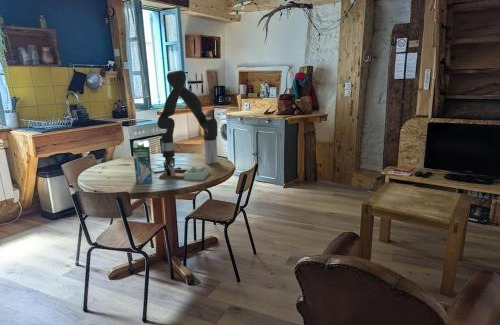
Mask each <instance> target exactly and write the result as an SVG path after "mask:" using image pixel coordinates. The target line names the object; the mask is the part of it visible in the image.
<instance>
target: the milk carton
mask: <svg viewBox="0 0 500 325" xmlns="http://www.w3.org/2000/svg"><path fill="white" fill-rule="evenodd" d="M150 151H151V150H150V141H149V140H138V141H136V140H135V141H132V153H133V163H134V173H135V181H136V186H139V185H140V186H142V185H144V184H152V183H153V174H152V164H151V163H152V161H151V154H150V153H151V152H150Z"/></svg>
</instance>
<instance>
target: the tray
mask: <svg viewBox="0 0 500 325" xmlns="http://www.w3.org/2000/svg"><path fill="white" fill-rule="evenodd" d="M188 170H189V169H179V168H178V169H176V168H175V175H173V176H166V173H165V171H164V172H163V173H161V174H160V175H159V176H158V178H159V180H184V173H185V172H186V171H188Z"/></svg>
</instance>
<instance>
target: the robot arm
mask: <svg viewBox="0 0 500 325" xmlns="http://www.w3.org/2000/svg"><path fill="white" fill-rule="evenodd" d="M186 80H187V74H186V72H185V71H183V70H182V69H178V70H171V71H169V72H168V73H167V74H166V81H167V82H168V84H169V86H170V87H171V88H172V90H171V92H170V93H169V94H168V96H167V98H166V99H165V103H164V106H163V110H162V112H161V113H160V115H159V117H158V119H157V122H156V123H157V127H158V128H159V129H161V130H166V132H163V133H161V151H162V152H161V154H162V157H163V158H165V159H164V162H162V163H163V168H164V172H165V171H167V176H171V173H170V168H175V164H176V163H175V162H176V159H175V151H176V150H175V143H174V131H175V126H176V125H175V124H176V122H175V120H174V119H173V118H172V116H174V115H175V113H176V108H177V104H178V101H179V98H181V100H182V101H183V102H184V104H185V106H187V108H188V110H190V112H191V113H192V114H193V116H194V117H195V119H196V121H197V122H198V124H199V125H200V127H201V129H202V130H204V131H207V133H206V135H204V136H203V146H204V161H205V164H207V165H209V164H210V165H212V164H213V165H214V164H217V163H218V162H219V161H218V144H217V143H218V140H217V139H218V138H217V137H218V122H217V119H216V118H214V117H208V116H207V115H206V114H205V113H204V111H203V105H202V102H201V100H200V99H199V97H198V95H196V93H194V92H193V91H191V90H190V89H188V88H187V87H185V84H186Z"/></svg>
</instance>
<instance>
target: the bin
mask: <svg viewBox="0 0 500 325" xmlns="http://www.w3.org/2000/svg"><path fill="white" fill-rule="evenodd" d="M196 167H197V166H192V167H190V168H188V169H187V170H188V171H186V172H185V173H184V179H183V180H185V181H187V180H188V181H189V180H190V181H203V180H204V179H205V178H206V177H207V176H209V174H210V172H211V170H210V169H211V168H210V166H202V167H203V173H195V172H194V169H195V168H196Z"/></svg>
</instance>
